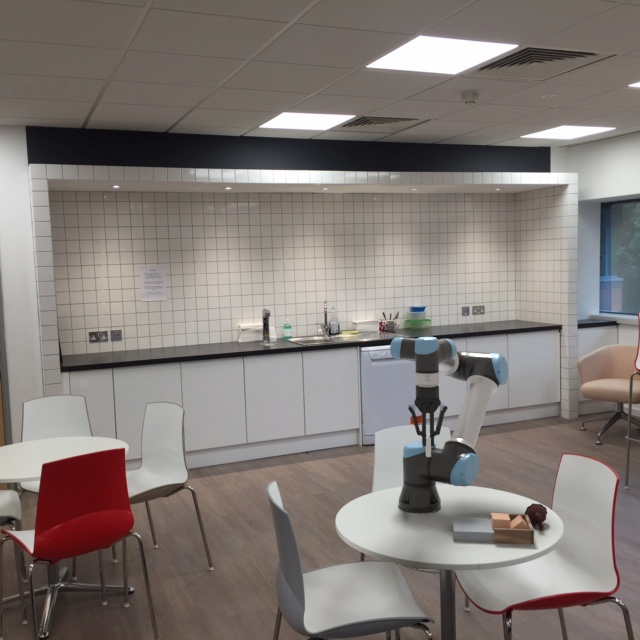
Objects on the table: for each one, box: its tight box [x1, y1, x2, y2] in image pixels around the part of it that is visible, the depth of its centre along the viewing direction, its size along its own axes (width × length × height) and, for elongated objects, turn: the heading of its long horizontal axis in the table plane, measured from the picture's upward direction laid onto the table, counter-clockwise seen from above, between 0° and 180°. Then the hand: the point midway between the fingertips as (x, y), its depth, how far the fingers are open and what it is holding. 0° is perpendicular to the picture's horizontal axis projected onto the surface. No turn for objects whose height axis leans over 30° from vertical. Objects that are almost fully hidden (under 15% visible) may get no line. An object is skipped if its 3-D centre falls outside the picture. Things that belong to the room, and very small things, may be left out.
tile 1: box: [490, 512, 510, 530], centre depth 227 cm, size 6×6×3 cm
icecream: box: [524, 503, 548, 531], centre depth 236 cm, size 7×7×15 cm
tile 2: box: [510, 515, 529, 529], centre depth 226 cm, size 6×6×3 cm
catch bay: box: [489, 512, 535, 546], centre depth 226 cm, size 14×12×4 cm
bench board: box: [451, 516, 494, 543], centre depth 228 cm, size 12×12×3 cm
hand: (428, 455), depth 230 cm, fingers closed
